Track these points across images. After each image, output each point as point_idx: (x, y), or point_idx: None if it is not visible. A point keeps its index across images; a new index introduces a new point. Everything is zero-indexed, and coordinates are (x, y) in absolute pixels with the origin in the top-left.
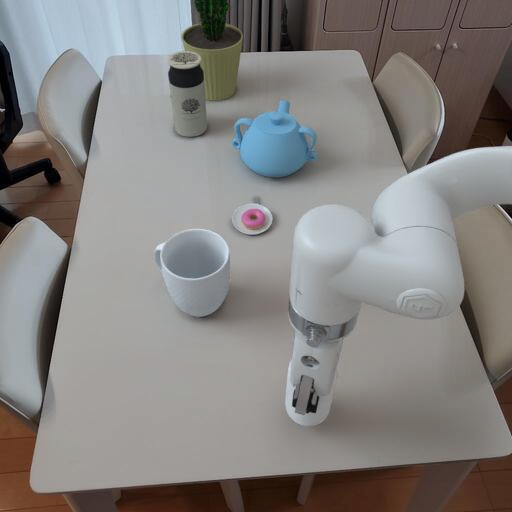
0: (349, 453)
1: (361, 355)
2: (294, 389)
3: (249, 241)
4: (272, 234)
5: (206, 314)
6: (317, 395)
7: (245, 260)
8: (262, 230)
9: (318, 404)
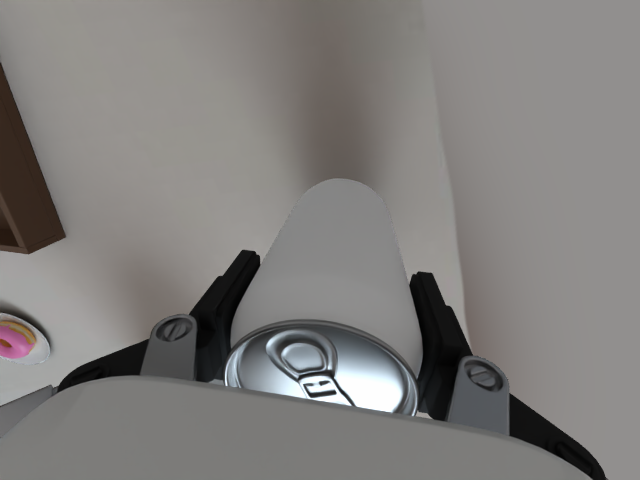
0: (410, 105)
1: (171, 102)
2: (419, 411)
3: (58, 333)
4: (19, 303)
5: (217, 382)
6: (436, 347)
7: (95, 334)
8: (22, 321)
9: (404, 270)
